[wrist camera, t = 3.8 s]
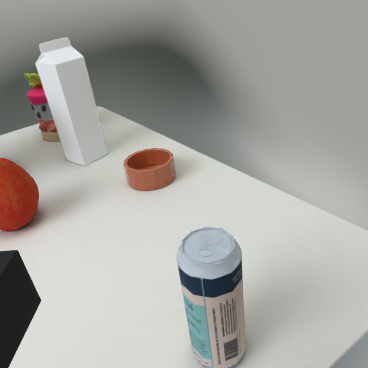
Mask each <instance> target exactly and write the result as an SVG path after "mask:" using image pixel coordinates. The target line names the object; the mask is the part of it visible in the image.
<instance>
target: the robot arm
mask: <svg viewBox="0 0 368 368" xmlns="http://www.w3.org/2000/svg"><path fill="white" fill-rule="evenodd" d="M40 302H41V299H40V297H39V295H38V293H37V291H36V288H35V286H34V284H33V282H32V280H31V278H30V276H29V273H28V271H27V269H26V267H25V265H24V263H23V261H22V258H21V256H20V254H19V252H18V250H12V251H0V368H8V367H9V365H10V363H11V361H12V359H13V357H14V355H15V353H16V351H17V349H18V347H19V345H20V343H21V341H22V339H23V337H24V335H25V333H26V331H27V329H28V327H29V324H30V322H31V320H32V318H33V316H34V314H35V312H36V310H37V308H38V306H39V304H40Z"/></svg>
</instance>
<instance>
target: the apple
mask: <svg viewBox="0 0 368 368" xmlns="http://www.w3.org/2000/svg"><path fill="white" fill-rule="evenodd" d="M38 200H39V192H38V187H37V185H36V183H35V181H34V179H33V178H32V177H31V176H30V175H29V174H28V173H27V172H26V171H25V170H24V169H23V168H21V167H20V166H19V165H17V164H15V163H14V162H12V161H10V160H8V159H4V158H0V230H3V231H14V230H17V229H19V228H21V227H23V226H25V225H26V224H28V223H29V222H30V221H31V220H32V219H33V217H34V215H35V213H36V210H37V206H38Z"/></svg>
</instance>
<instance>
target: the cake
mask: <svg viewBox="0 0 368 368" xmlns="http://www.w3.org/2000/svg"><path fill="white" fill-rule="evenodd" d="M24 76H25V78H26V79H27V80H28V81H29V82H30V86H36V87H34V88H33V89H31V90H30V91H29V92H28V98H29V100H30V101H31V103H32V105H31V106H32V109H33V110H34V111H35V114H36V117H37V119H36V121H37V122H38V123H40V125H39V129H41V131H42V134H43V137H44V139H45V140H47V141H60V138H59V135H58V132H57V129H56V126H55V122H54V119H53V116H52V113H51V110H50V107H49V104H48V101H47V98H46V95H45V92H44V89H43V85H42V82H41V79H40V76H39V75H37V74H36V73H32V74H31V75H30V74H28V73H26V74H25V75H24Z"/></svg>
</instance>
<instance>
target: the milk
mask: <svg viewBox="0 0 368 368" xmlns="http://www.w3.org/2000/svg"><path fill="white" fill-rule="evenodd" d="M39 48H40V51H41V55H40V57H39V58H38V60H37V62H36V67H37V70H38V73H39V76H40V79H41V82H42V85H43V89H44V92H45V95H46V98H47V101H48V104H49V107H50V110H51V113H52V116H53V119H54V122H55V126H56V129H57V132H58V135H59V138H60V141H61V144H62V147H63V150H64V153H65V156H66V159H67V160H68V161H71V162H74V163H77V164H80V165H83V166H86V165H88V164H90V163H92V162H93V161H95V160H97V159H99V158H101V157H103V156H104V155H106V154H108V151H107V147H106V143H105V139H104V135H103V131H102V127H101V124H100V120H99V116H98V112H97V108H96V104H95V100H94V96H93V92H92V88H91V85H90V80H89V76H88V72H87V68H86V65H85V61H84V57H83V56H82V55H81V54H80V53H79V52H77V51H76V50H75V49H74V48H73V47H72V46H71V44H70V41H69V38H68V37H66V38H61V39H57V40H54V41H49V42H45V43H41V44H39Z"/></svg>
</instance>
